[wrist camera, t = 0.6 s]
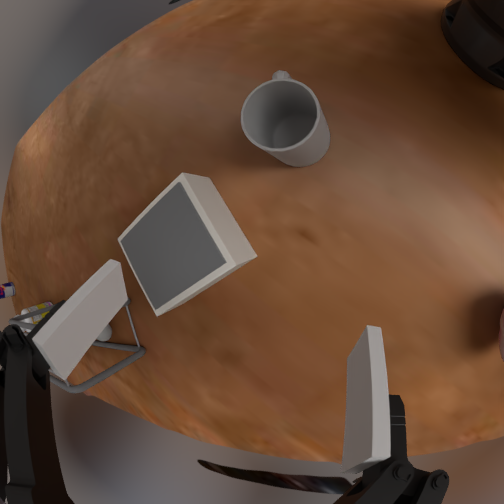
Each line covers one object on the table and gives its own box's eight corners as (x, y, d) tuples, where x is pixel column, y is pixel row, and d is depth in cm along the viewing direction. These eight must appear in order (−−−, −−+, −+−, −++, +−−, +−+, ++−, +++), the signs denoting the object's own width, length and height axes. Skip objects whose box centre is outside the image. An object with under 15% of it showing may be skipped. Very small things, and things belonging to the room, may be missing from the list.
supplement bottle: (55, 326, 59) (20, 339, 48) (46, 305, 60) (11, 316, 48) (61, 319, 57) (23, 333, 45) (51, 297, 57) (14, 308, 45)
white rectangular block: (209, 177, 34) (180, 172, 28) (257, 256, 33) (234, 266, 27) (146, 235, 40) (115, 239, 34) (183, 303, 39) (155, 317, 33)
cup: (273, 171, 31) (242, 157, 23) (266, 96, 30) (236, 64, 22) (334, 165, 28) (325, 147, 20) (323, 88, 27) (309, 49, 19)
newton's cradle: (75, 340, 55) (21, 363, 39) (63, 301, 55) (6, 319, 38) (151, 351, 43) (75, 397, 27) (134, 296, 43) (48, 328, 26)
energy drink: (15, 288, 73) (-9, 294, 62) (15, 297, 75) (-8, 304, 64) (11, 279, 74) (-12, 284, 63) (11, 288, 76) (-11, 294, 65)
